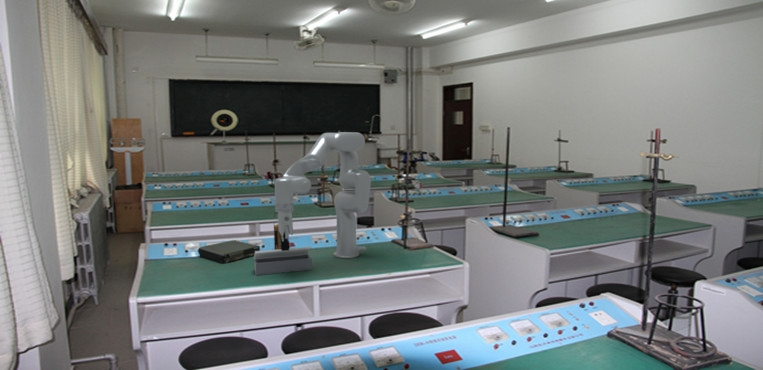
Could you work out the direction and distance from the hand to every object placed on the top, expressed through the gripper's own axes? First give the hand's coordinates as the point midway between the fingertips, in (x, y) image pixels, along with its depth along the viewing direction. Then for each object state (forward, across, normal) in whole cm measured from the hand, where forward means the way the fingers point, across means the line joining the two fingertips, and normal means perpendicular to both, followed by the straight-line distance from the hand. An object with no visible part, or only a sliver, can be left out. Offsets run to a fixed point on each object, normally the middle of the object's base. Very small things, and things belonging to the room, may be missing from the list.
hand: (285, 249), depth 203 cm
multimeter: (+11, +40, -7) cm, 43 cm away
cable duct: (+11, +6, 0) cm, 12 cm away
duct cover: (+4, +7, 0) cm, 8 cm away
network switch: (+11, +40, +21) cm, 46 cm away
